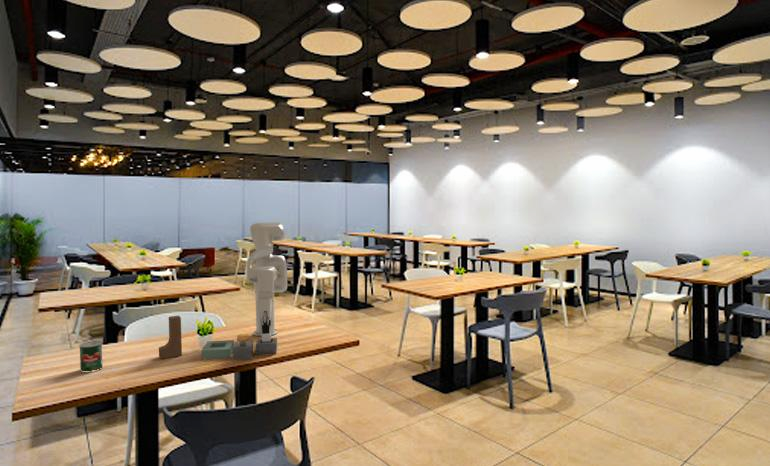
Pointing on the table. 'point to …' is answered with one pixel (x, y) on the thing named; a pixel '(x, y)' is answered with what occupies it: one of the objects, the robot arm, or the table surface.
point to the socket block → (266, 347)
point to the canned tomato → (91, 356)
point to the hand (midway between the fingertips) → (266, 330)
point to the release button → (243, 338)
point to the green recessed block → (217, 349)
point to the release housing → (243, 351)
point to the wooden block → (172, 339)
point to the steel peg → (267, 336)
